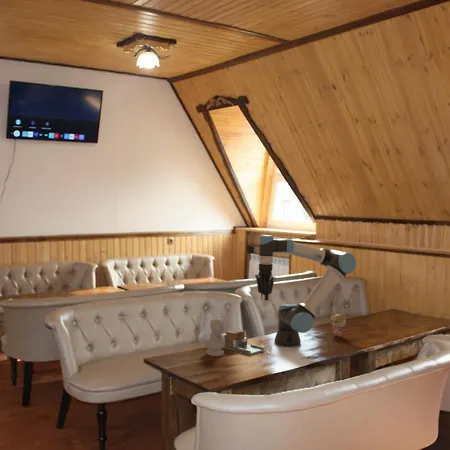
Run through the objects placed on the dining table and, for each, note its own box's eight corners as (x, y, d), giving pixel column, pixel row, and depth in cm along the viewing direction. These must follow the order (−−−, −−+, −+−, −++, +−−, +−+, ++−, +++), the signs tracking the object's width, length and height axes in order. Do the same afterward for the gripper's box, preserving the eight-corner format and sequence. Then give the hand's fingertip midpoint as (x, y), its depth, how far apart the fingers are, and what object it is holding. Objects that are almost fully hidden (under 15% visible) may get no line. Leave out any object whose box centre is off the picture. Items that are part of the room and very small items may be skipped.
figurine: (229, 353, 320) (230, 317, 319) (214, 357, 310) (216, 321, 309) (215, 349, 326) (217, 314, 325) (201, 354, 316) (202, 318, 315)
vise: (234, 343, 340) (235, 331, 339) (264, 351, 325) (264, 338, 324) (220, 347, 331) (220, 334, 331) (249, 355, 316) (250, 342, 316)
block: (236, 342, 337) (236, 329, 336) (244, 344, 333) (244, 330, 332) (225, 345, 330) (226, 331, 330) (233, 347, 326) (234, 333, 326)
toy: (326, 335, 365) (327, 311, 364) (335, 333, 371) (336, 310, 370) (339, 339, 358) (340, 314, 357) (348, 337, 364) (349, 313, 363)
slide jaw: (244, 344, 333) (244, 337, 333) (250, 345, 330) (250, 338, 330) (233, 347, 326) (233, 340, 326) (239, 348, 323) (239, 341, 323)
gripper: (252, 262, 323) (251, 305, 324) (270, 265, 314) (269, 308, 315) (260, 261, 328) (259, 303, 330) (279, 264, 319) (278, 307, 321)
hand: (264, 306), depth 323 cm, fingers closed
